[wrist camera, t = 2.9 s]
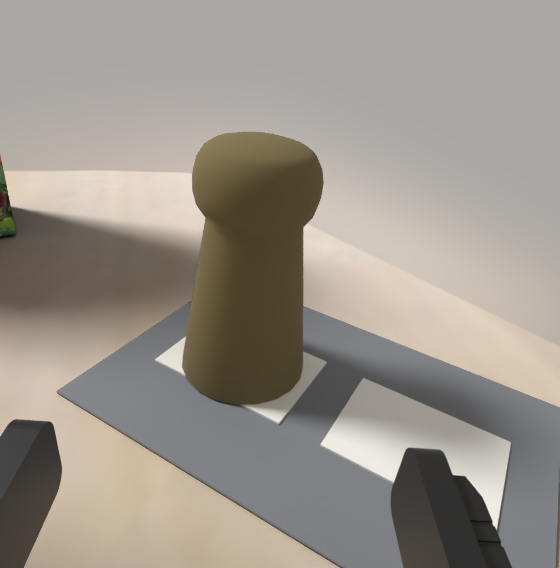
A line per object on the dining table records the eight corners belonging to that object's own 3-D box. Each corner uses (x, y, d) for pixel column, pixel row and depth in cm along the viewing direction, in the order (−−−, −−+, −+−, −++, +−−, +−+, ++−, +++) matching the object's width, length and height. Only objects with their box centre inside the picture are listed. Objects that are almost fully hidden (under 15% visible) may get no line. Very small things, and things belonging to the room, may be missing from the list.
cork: (262, 314, 27) (282, 117, 21) (327, 378, 23) (373, 155, 17) (162, 343, 24) (155, 121, 18) (216, 423, 20) (229, 168, 14)
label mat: (56, 392, 20) (56, 389, 20) (228, 277, 31) (228, 275, 30) (549, 695, 13) (551, 692, 13) (561, 409, 23) (562, 407, 23)
